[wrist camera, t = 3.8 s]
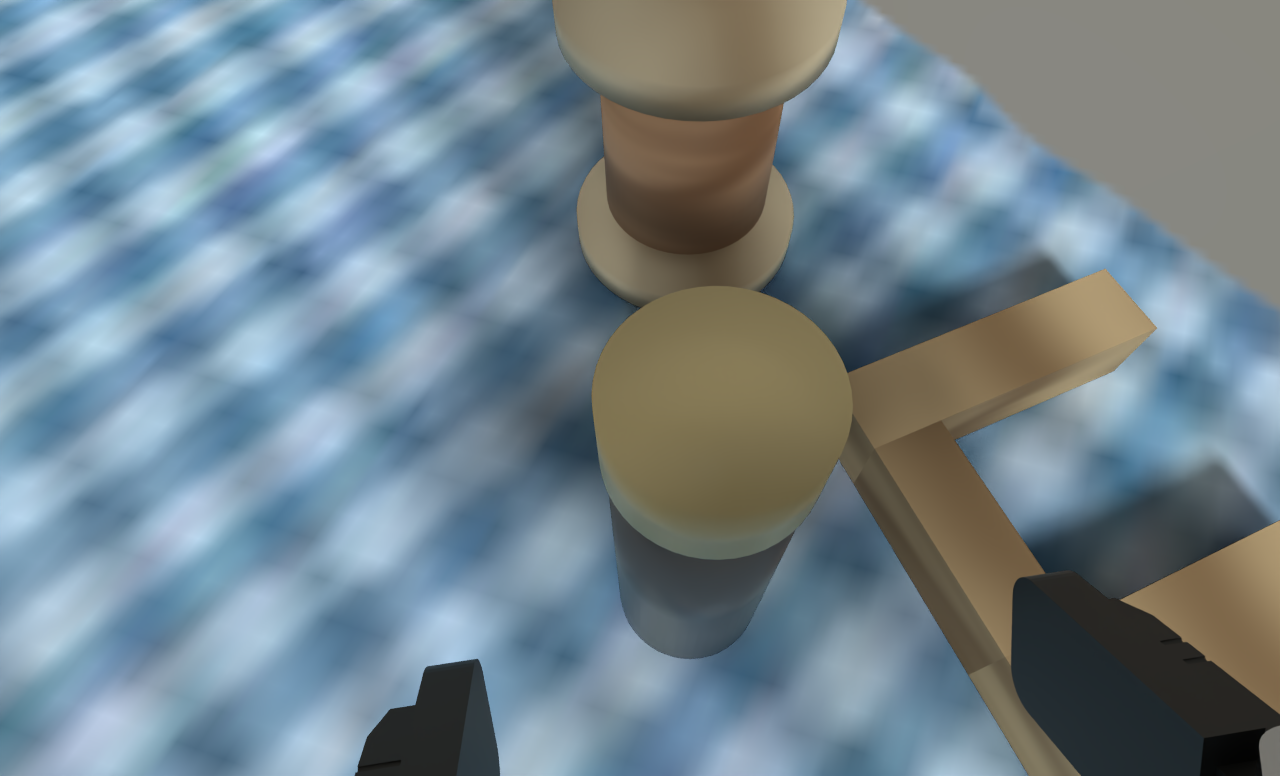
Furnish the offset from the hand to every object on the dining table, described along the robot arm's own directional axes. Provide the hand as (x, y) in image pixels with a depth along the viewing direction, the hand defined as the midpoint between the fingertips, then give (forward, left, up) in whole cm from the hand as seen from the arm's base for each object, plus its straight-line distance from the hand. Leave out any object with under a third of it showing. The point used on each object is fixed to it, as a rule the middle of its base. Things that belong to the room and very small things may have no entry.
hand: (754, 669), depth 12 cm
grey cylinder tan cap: (+1, +3, -9) cm, 10 cm away
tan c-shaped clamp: (+11, 0, -9) cm, 14 cm away
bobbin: (+6, +14, -9) cm, 18 cm away
